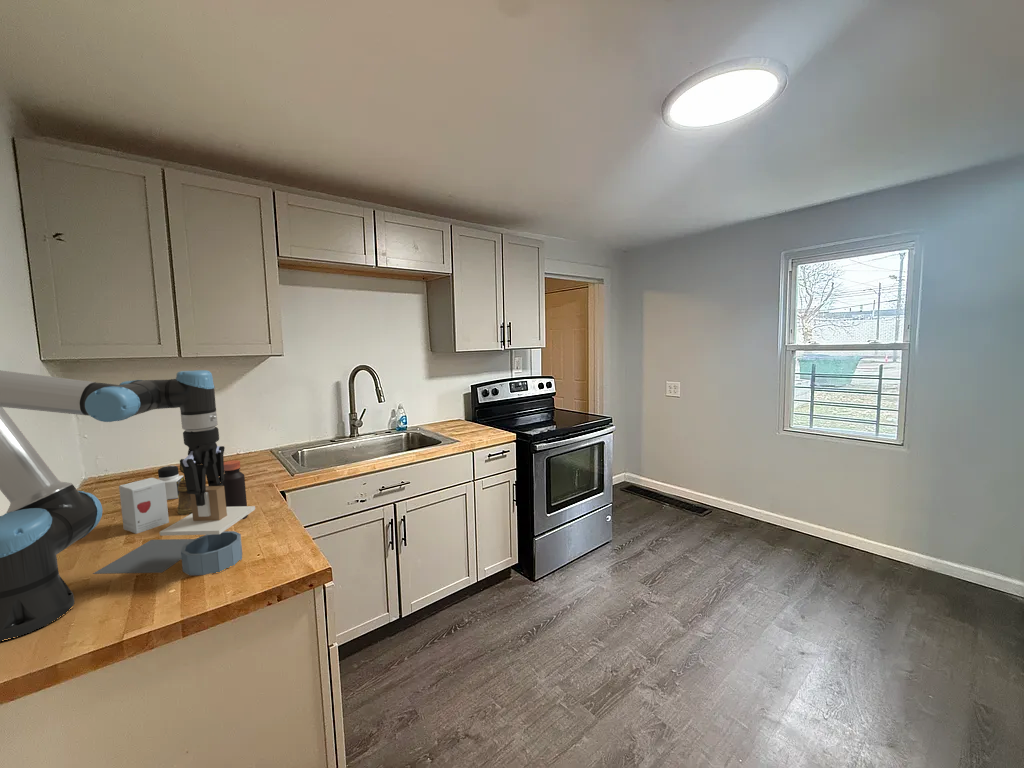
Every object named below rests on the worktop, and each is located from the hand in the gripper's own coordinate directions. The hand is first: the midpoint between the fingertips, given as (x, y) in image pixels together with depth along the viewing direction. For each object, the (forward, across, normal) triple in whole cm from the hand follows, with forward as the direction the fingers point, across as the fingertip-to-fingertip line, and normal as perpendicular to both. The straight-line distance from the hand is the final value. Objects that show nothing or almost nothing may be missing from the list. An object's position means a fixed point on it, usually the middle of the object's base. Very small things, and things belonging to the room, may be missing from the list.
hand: (209, 512), depth 111 cm
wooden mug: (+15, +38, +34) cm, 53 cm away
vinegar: (+15, +28, +12) cm, 34 cm away
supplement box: (+15, +23, +38) cm, 47 cm away
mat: (+14, +4, +19) cm, 24 cm away
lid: (+3, 0, 0) cm, 3 cm away
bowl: (+15, 0, 0) cm, 15 cm away
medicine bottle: (+15, +49, +51) cm, 72 cm away
